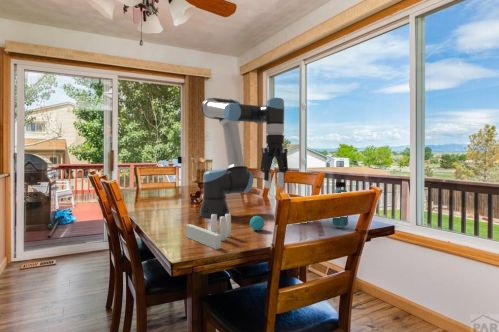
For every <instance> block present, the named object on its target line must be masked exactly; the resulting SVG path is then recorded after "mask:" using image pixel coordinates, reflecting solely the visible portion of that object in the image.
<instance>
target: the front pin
mask: <svg viewBox="0 0 499 332" xmlns="http://www.w3.org/2000/svg"><path fill="white" fill-rule="evenodd" d="M225 217H226V238H231V237H232V214H231V213H229V214H225Z"/></svg>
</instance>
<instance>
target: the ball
mask: <svg viewBox="0 0 499 332" xmlns="http://www.w3.org/2000/svg"><path fill="white" fill-rule="evenodd" d="M249 226H250V228H251V229H252V230H254V231H256V230H257V232H258V231H261V230H262V229H264V227H265V220H264V218H263V217H262V216H260V215H254V216H253V217H251V219H250V221H249Z"/></svg>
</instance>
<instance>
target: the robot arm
mask: <svg viewBox="0 0 499 332" xmlns="http://www.w3.org/2000/svg"><path fill="white" fill-rule="evenodd" d="M200 112H201V114H202V115H203V116H204V117H205V118H208V119H211V120H219V125H220V126H222V129H223V130H222V131H223V138H224V143H225V145H224V146H225V150H226V151H225V152H226V160H227V168H226V169H225V168H221V169H220V168H219V169H211V170H207V171H205V172H204V173H203V177H202V203H201V206H200V209H199V216H200V217H202V218H208V219H211V215H212V214H217V219H218V218H219V219H220V217H222V216H224V217H225V214H230V209H229V206H228V203H227V195H231V194H232V195H233V194H245V193H246V194H247V193H249V192H250V191H251V190H252V188H253V185H254V175H253V173H252V171H249V169H248V166H247V165H245V163H244V156H243V149H242V143H241V135H240V129H239V124H240V122H248V123H255V124H265V123H266V125H265V126H266V129H265V130H266V131H265V132H266V138H265V139H266V140H265V143H266V144H267V145H266V147H262V148H261V162H260V172H262V174H264V176H263V179H264V188H265V189H269V190H270V189H272V173H271V172H270V171H271V168H272V164H273V160H274V158H275V159H276V164H277V166H278V167H277V168H278V171H279V172H277V188H284V186H285V185H284V184H285V183H284V180H285V173H287V171H288V170H289V167H288V166H289V164H288V148H284V147H283V144H284V142H285V139H284V138H285V136H284V134H285V101H284V99H283V98H281V97H269V98H267V100H266V104H265V105H255V104H254V105H253V104H245V103H241V102H240V101H238V100H237V99H236V100H235V99H231V98H230V99H227V98H219V97H209V98H206V99H204V100H203V101H202V103H201V104H200Z"/></svg>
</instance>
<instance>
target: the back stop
mask: <svg viewBox="0 0 499 332" xmlns="http://www.w3.org/2000/svg"><path fill="white" fill-rule="evenodd" d="M185 237H186V238H187V239H188V238H189V239H190V240H193V241H196V242H197V243H200V244H203V245H204V246H207V247H209V248H212V249H214V250H218V249H221V248H222V246H221V245H222V241H221V235H220V233H218V232H217V233H214V232H211V230H210V229H209V230H208V229H205V228H204V227H203V228H202V227H200V226H196V225H193V224H192V223H191V224H190V223H189V224H188V223H187V224H185Z"/></svg>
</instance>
